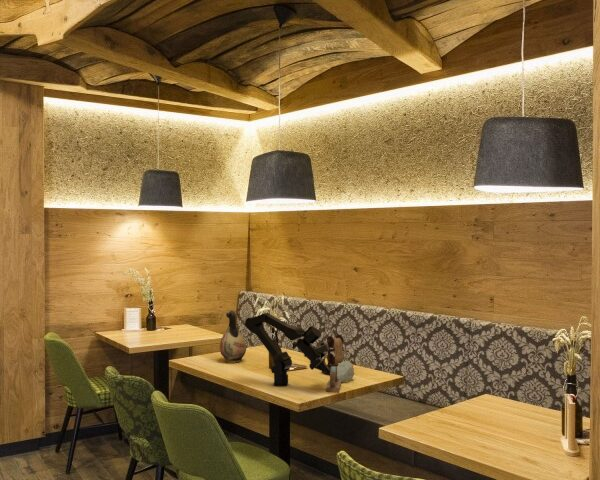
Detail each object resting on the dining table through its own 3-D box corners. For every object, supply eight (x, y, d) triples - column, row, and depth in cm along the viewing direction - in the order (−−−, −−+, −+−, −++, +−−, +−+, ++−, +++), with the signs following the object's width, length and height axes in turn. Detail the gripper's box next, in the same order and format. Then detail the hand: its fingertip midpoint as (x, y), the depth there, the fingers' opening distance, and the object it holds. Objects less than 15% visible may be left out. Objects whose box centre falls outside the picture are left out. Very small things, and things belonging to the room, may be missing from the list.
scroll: (335, 377, 316) (335, 338, 315) (315, 372, 327) (315, 335, 326) (354, 373, 325) (354, 335, 325) (335, 368, 336) (335, 332, 336)
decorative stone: (348, 376, 317) (337, 361, 316) (361, 372, 309) (350, 357, 308) (335, 393, 308) (323, 377, 307) (348, 389, 300) (336, 373, 299)
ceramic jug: (217, 359, 361) (217, 308, 360) (243, 357, 365) (243, 307, 365) (222, 365, 344) (222, 312, 344) (249, 363, 349) (249, 311, 349)
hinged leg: (329, 382, 291) (330, 367, 290) (330, 380, 293) (331, 366, 293) (334, 382, 290) (335, 367, 290) (335, 381, 293) (335, 366, 292)
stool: (325, 392, 285) (325, 372, 285) (328, 385, 299) (328, 365, 299) (338, 393, 284) (338, 372, 284) (341, 385, 298) (341, 366, 298)
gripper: (316, 341, 283) (340, 365, 281) (321, 334, 301) (343, 357, 300) (299, 357, 284) (322, 382, 283) (305, 350, 303) (327, 373, 301)
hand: (330, 373), depth 291 cm, fingers closed, pressing on hinged leg
